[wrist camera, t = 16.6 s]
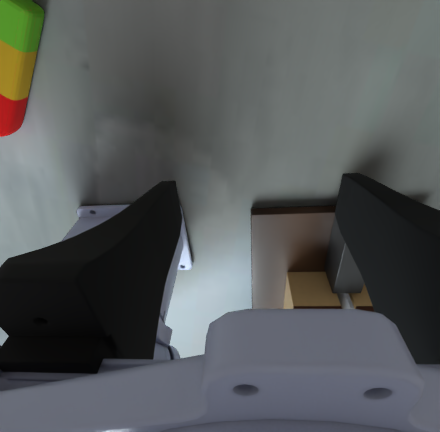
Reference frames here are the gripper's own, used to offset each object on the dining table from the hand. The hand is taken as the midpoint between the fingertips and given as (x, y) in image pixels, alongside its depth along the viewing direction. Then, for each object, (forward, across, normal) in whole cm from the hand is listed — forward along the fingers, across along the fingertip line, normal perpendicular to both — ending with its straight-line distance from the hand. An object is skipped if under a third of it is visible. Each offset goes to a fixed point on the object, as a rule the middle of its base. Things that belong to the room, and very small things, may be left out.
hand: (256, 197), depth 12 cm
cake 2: (+8, -5, +19) cm, 21 cm away
